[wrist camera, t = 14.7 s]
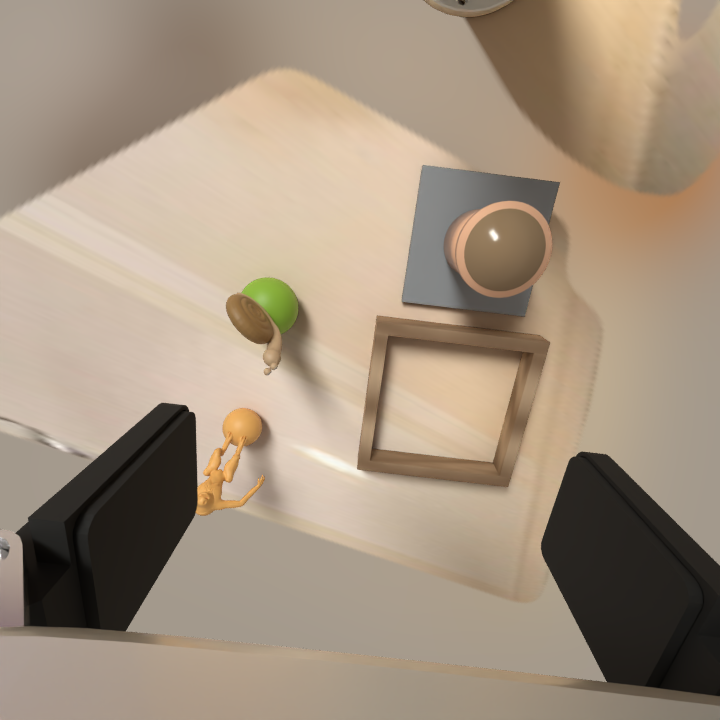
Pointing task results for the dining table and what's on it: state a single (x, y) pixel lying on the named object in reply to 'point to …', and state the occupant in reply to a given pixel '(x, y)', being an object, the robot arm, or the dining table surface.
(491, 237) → the terracotta pot
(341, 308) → the dining table surface
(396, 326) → the frame
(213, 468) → the figurine
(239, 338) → the dining table surface
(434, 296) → the grey mat
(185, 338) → the dining table surface
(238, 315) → the snail figurine
